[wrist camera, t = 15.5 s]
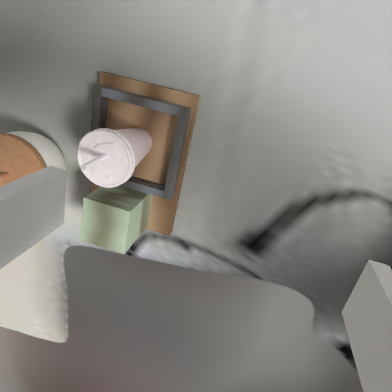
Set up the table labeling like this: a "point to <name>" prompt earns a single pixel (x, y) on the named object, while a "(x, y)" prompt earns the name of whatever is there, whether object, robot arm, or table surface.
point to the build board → (147, 168)
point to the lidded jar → (26, 155)
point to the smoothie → (112, 154)
